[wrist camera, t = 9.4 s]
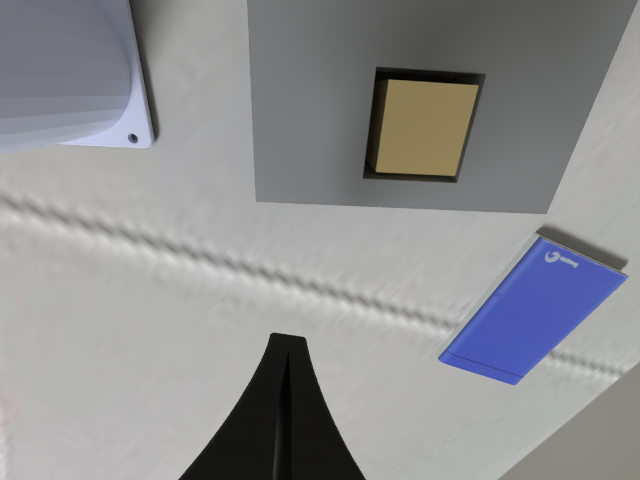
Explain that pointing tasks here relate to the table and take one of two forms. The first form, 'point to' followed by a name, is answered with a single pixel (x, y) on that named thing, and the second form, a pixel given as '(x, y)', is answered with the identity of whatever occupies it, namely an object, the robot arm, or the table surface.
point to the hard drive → (529, 310)
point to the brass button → (418, 126)
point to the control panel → (425, 59)
